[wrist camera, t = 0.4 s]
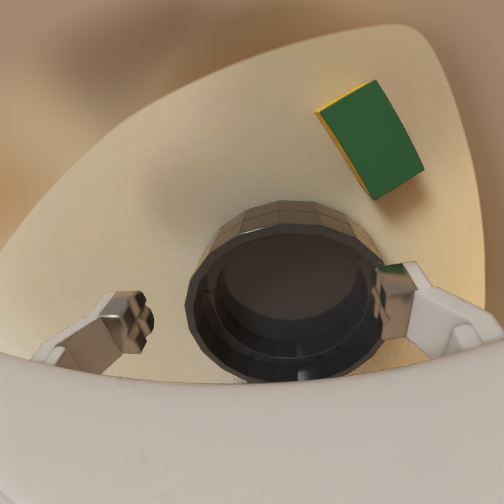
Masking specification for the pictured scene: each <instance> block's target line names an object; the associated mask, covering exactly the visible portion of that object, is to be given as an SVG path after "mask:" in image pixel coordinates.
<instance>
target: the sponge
mask: <svg viewBox="0 0 504 504" xmlns="http://www.w3.org/2000/svg"><path fill="white" fill-rule="evenodd" d="M314 113H315V114H316V115H317V117H318V118H319V120H320V121H321V123H322V124H323V126H324V127H325V128H326V130H327V131H328V133H329V134H330V136H331V137H332V139H333V141H334V142H335V144H336V145H337V147H338V148H339V150H340V151H341V153H342V155H343V156H344V158H345V159H346V161H347V163H348V164H349V166H350V168H351V169H352V171H353V173H354V174H355V176H356V178H357V179H358V181H359V183H360V185H361V186H362V188H363V189H364V190H365V191H366V192H367V193H368V194H369V195H370V196H371V198H372V199H373V200H376V199H378V198H380V197H381V196H383V195H384V194H386V193H388V192H389V191H391V190H393V189H394V188H396V187H397V186H399V185H401V184H402V183H404V182H406V181H407V180H409V179H410V178H412V177H414V176H415V175H417V174H418V173H420V172H422V171H423V170H424V167H423V165H422V162H421V160H420V158H419V156H418V154H417V152H416V150H415V148H414V146H413V144H412V142H411V140H410V138H409V136H408V134H407V132H406V130H405V128H404V126H403V124H402V123H401V121H400V119H399V117H398V115H397V114H396V112H395V110H394V108H393V107H392V105H391V103H390V102H389V100H388V98H387V97H386V95H385V93H384V92H383V90H382V89H381V87H380V85H379V84H378V82H377V81H376V80H373V81H369V82H366V83H362V84H360V85H358V86H357V87H355V88H353V89H351V90H350V91H348V92H346V93H345V94H343V95H341V96H339V97H338V98H336V99H334V100H333V101H331V102H329V103H328V104H326V105H324V106H323V107H321V108H320V109H318V110H316V111H315V112H314Z"/></svg>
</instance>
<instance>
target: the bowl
mask: <svg viewBox="0 0 504 504" xmlns="http://www.w3.org/2000/svg"><path fill="white" fill-rule="evenodd" d="M381 266H385V264H384V262H383V260H382V259H381V257H380V255H379V253H378V251H377V250H376V248H375V246H374V245H373V243H372V241H371V239H370V238H369V236H368V234H367V233H366V232H365V231H364V230H363V229H362V228H361V227H359V226H358V225H357V224H356V223H355V222H354V221H352V220H351V219H350V218H349V217H348V216H347V215H345V214H344V213H342V212H339V211H337V210H334V209H331V208H329V207H326V206H324V205H321V204H318V203H316V202H306V201H276V202H273V203H269V204H265V205H262V206H258V207H255V208H251V209H248V210H246V211H244V212H243V213H241V214H240V215H238V216H237V217H235V218H234V219H233V220H231V221H230V222H228V223H227V224H225V225H224V226H222V227H221V229H220V230H219V231H218V233H217V234H216V235H215V237H214V238H213V240H212V241H211V242H210V244H209V245H208V246H207V248H206V249H205V251H204V253H203V255H202V257H201V259H200V261H199V263H198V265H197V267H196V269H195V271H194V273H193V275H192V277H191V279H190V283H189V287H188V291H187V296H186V300H185V311H186V316H187V322H188V327H189V330H190V332H191V334H192V336H193V337H194V339H195V341H196V342H197V344H198V345H199V347H200V349H201V350H202V352H203V353H204V354H206V355H207V356H208V357H209V358H210V359H211V360H212V361H213V362H215V363H216V364H217V365H218V366H219V367H220V368H222V369H224V370H225V371H227V372H229V373H231V374H233V375H235V376H237V377H239V378H241V379H243V380H246V381H250V382H254V383H274V382H291V381H305V380H316V379H326V378H334V377H342V376H344V375H347V374H349V373H351V372H352V371H353V370H355V369H356V368H358V367H359V366H361V365H362V364H363V363H365V362H366V361H367V360H369V359H370V358H371V357H372V356H373V355H374V354H375V353H376V351H377V350H378V349H379V348H380V346H381V345H382V344H383V343H384V341H385V340H381V337H380V334H379V331H378V328H377V322H378V319H376V318H375V317H374V315H373V312H372V308H371V289H372V288H373V286H374V284H373V282H372V279H371V276H372V268H375V267H381Z"/></svg>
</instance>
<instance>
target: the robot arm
mask: <svg viewBox="0 0 504 504" xmlns="http://www.w3.org/2000/svg"><path fill="white" fill-rule="evenodd" d="M371 279H372V282H373V284H374V286H373V288H372V289H371V308H372V312H373V315H374V317H375V318H376V319H378V322H377V328H378V331H379V334H380V337H381V340H388V339H394V338H401V337H406V338H407V339H408V340H409V341H410V342H411V343H413V344H414V345H415V346H416V347H417V348H419V349H420V350H421V351H422V352H423V353H424V354H426V355H427V356H428V357H429V358H430V359H432V360H429V361H425V362H421V363H416V364H412V365H407V366H402V367H397V368H392V369H387V370H382V371H376V372H370V373H364V374H357V375H350V376H343V377H334V378H326V379H316V380H305V381H291V382H274V383H244V384H210V383H182V382H165V381H152V380H142V379H132V378H123V377H115V376H108V375H101V374H102V373H103V372H104V371H105V370H106V369H107V368H108V367H109V366H110V365H112V364H113V363H114V362H115V361H116V360H117V359H118V358H119V357H120V356H121V355H122V353H128V354H141V352H142V350H143V348H144V346H145V344H146V342H147V341H146V338H145V337H147V336H148V335H149V334H151V332H152V330H153V328H154V317H153V314H152V311H151V309H150V308H148V307H147V306H146V305H145V303H146V298H145V296H144V294H143V293H142V292H140V291H120V292H108V293H106V294H105V295H104V297H103V298H102V299H101V300H100V302H99V303H98V304H97V305H96V307H95V308H94V309H93V311H92V312H91V313H90V315H89V316H85V317H84V318H82V319H80V320H79V321H77V322H76V323H74V324H72V325H71V326H69V327H68V328H66V329H64V330H63V331H61V332H60V333H58V334H56V335H55V336H53V337H52V338H50V339H48V340H47V341H45V342H44V343H43V344H42V345H41V346H40V348H39V349H38V350H37V352H36V353H35V354H34V356H33V357H32V358H31V360H27V359H23V358H20V357H16V356H12V355H9V354H6V353H2V352H0V504H504V331H503V329H502V328H501V326H500V324H499V323H498V321H497V320H496V318H495V317H494V316H493V314H491V313H489V312H487V311H485V310H483V309H481V308H479V307H477V306H475V305H473V304H471V303H470V302H468V301H466V300H463V299H461V298H459V297H457V296H455V295H453V294H451V293H449V292H447V291H445V290H443V289H441V288H439V287H433V286H432V284H431V283H430V281H429V280H428V278H427V277H426V275H425V274H424V272H423V271H422V270H421V268H420V267H419V265H418V264H417V262H415V261H410V262H404V263H399V264H393V265H387V266H381V267H375V268H372V276H371Z"/></svg>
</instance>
